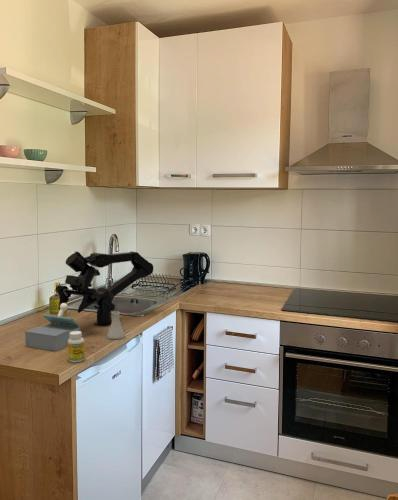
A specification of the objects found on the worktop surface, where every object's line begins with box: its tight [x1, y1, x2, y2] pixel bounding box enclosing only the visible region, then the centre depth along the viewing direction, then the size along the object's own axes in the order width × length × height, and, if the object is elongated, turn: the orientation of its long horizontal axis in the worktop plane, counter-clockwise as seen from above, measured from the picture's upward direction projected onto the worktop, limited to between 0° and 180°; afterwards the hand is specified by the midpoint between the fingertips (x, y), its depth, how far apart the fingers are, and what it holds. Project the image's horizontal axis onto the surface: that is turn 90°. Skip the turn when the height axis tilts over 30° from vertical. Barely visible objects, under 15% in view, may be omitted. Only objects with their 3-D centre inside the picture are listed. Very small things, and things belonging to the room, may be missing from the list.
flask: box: [106, 311, 126, 341], centre depth 178 cm, size 7×7×10 cm
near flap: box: [41, 303, 81, 328], centre depth 177 cm, size 7×14×7 cm
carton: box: [24, 322, 81, 352], centre depth 171 cm, size 14×14×6 cm
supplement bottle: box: [67, 330, 86, 363], centre depth 154 cm, size 5×5×10 cm
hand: (68, 311), depth 179 cm, fingers open, 9 cm apart
